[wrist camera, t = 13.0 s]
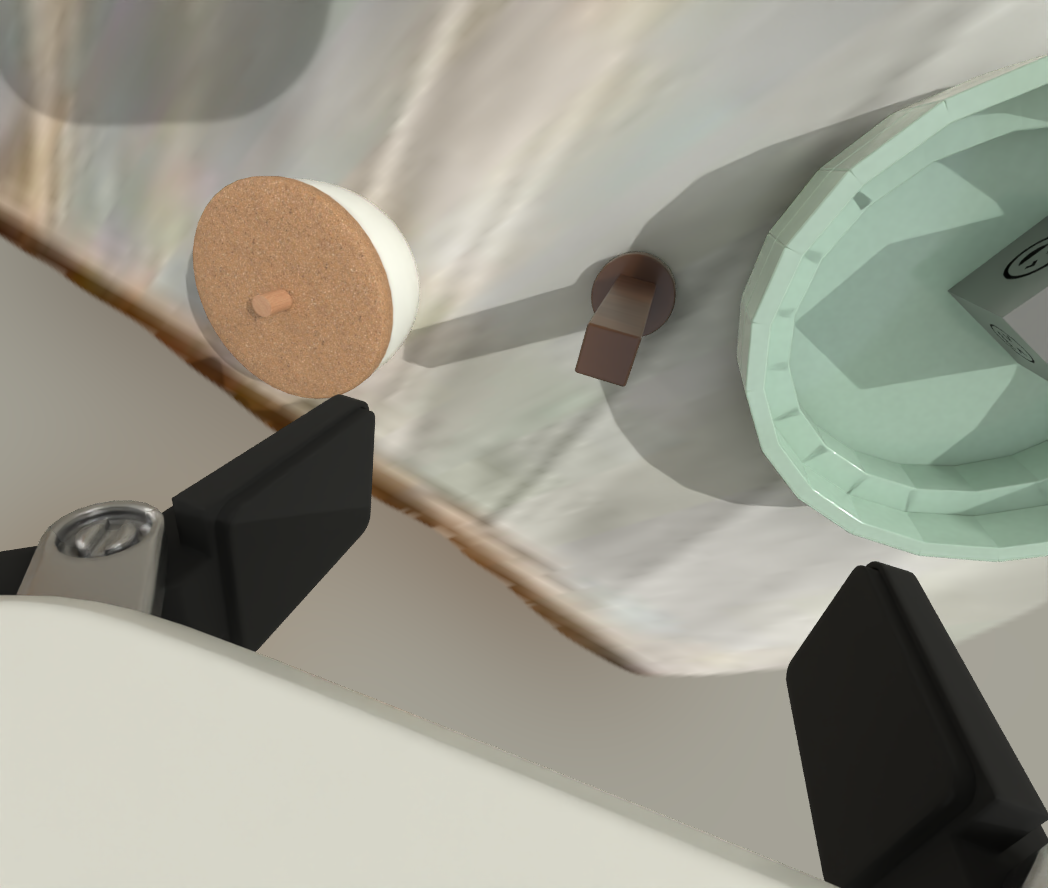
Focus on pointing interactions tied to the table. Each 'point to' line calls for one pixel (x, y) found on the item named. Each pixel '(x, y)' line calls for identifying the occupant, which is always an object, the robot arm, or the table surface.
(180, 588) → the robot arm
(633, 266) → the muddler
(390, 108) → the table surface
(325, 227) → the trinket box
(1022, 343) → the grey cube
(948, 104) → the bowl
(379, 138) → the table surface
